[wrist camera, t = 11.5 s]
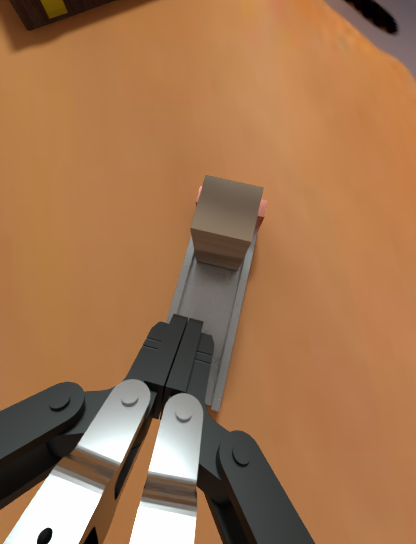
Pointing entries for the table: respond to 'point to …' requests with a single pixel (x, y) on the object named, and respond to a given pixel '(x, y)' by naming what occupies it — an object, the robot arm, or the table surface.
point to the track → (214, 306)
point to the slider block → (224, 221)
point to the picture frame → (51, 10)
